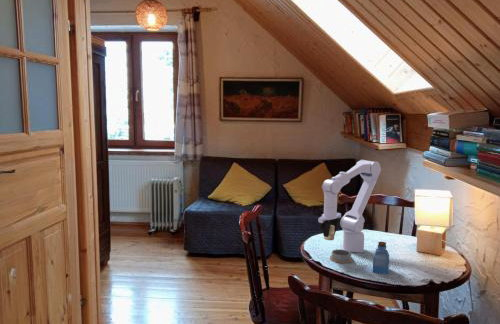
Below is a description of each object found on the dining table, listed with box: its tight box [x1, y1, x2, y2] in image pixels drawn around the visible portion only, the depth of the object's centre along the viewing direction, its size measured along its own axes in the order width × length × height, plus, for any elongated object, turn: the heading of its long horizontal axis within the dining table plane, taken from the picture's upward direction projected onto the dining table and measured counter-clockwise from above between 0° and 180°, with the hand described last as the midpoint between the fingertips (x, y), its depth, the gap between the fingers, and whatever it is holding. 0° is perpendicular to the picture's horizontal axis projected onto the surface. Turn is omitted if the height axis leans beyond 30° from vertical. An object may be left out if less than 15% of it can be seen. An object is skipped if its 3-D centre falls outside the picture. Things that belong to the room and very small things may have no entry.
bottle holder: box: [329, 248, 354, 264], centre depth 182 cm, size 10×10×3 cm
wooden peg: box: [323, 225, 335, 241], centre depth 186 cm, size 4×4×6 cm
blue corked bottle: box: [372, 241, 390, 275], centre depth 169 cm, size 6×6×12 cm
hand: (329, 235), depth 186 cm, fingers closed on wooden peg, 4 cm apart
